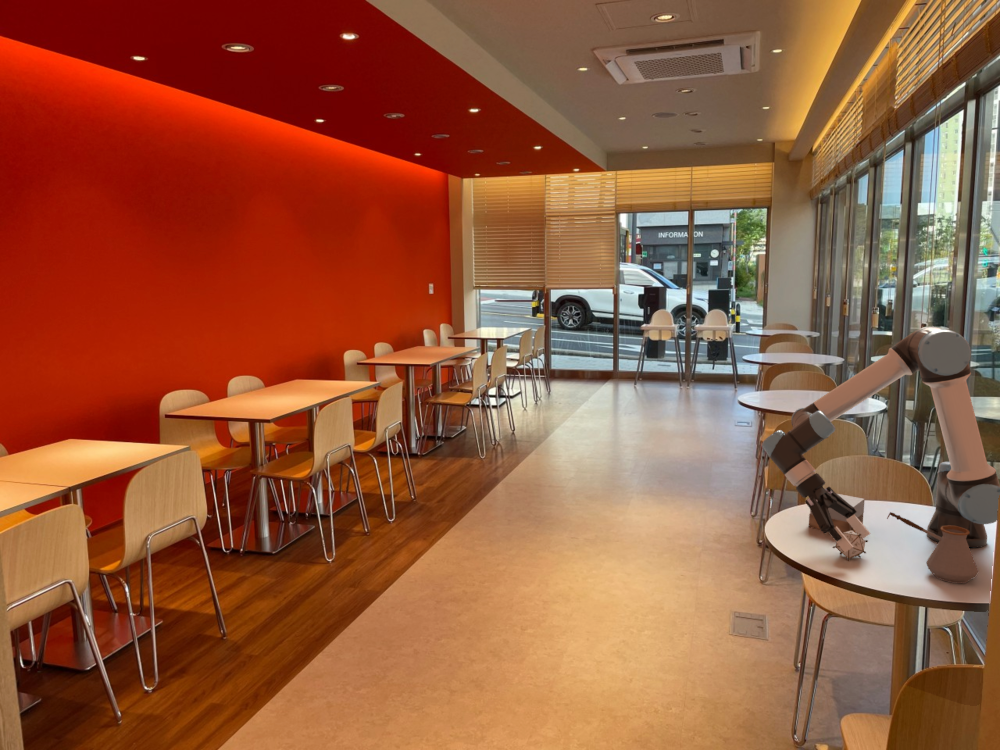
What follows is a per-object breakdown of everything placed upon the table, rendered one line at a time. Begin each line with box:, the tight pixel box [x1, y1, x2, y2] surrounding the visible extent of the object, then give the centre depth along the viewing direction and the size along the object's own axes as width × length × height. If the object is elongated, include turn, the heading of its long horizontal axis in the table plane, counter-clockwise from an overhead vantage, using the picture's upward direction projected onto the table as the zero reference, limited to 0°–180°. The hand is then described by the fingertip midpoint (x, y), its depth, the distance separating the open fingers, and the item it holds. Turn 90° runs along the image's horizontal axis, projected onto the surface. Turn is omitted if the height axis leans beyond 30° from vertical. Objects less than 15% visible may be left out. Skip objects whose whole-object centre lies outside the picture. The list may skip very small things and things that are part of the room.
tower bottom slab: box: [808, 513, 864, 532], centre depth 231 cm, size 12×12×4 cm
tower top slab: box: [809, 493, 866, 522], centre depth 230 cm, size 12×12×4 cm
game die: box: [831, 527, 869, 562], centre depth 205 cm, size 9×8×10 cm
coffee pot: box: [886, 511, 979, 584], centre depth 194 cm, size 21×12×15 cm, turn 58°
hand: (858, 543), depth 203 cm, fingers open, 13 cm apart
